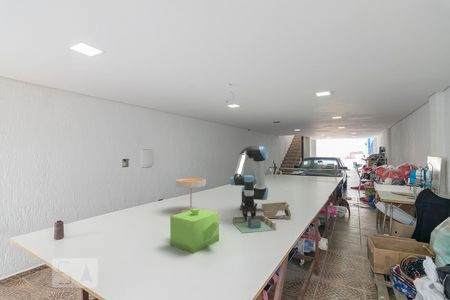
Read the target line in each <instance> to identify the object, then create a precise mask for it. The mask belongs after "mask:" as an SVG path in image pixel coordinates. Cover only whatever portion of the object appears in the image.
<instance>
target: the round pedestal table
mask: <svg viewBox="0 0 450 300" xmlns="http://www.w3.org/2000/svg"><path fill="white" fill-rule="evenodd" d="M206 185H207V180H206V179H205V178H202V177H201V178H200V177H199V178H198V177H193V178H191V177H188V178H177V179H175V187H176V188H189V206H190V208H185V209H182V210H180V213H183V212H187V211H190V210H191V209H193V208H194V207H192V206H193V205H192V204H193V201H192V200H193V196H192V191H193V190H192V189H193V188H201V187H206Z"/></svg>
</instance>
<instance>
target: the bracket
mask: <svg viewBox="0 0 450 300" xmlns="http://www.w3.org/2000/svg"><path fill="white" fill-rule="evenodd" d="M247 217H248V226H249V227H250V228H251V229H253V228H261V218H252V217H251V215H247Z"/></svg>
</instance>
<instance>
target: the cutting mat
mask: <svg viewBox="0 0 450 300" xmlns="http://www.w3.org/2000/svg"><path fill="white" fill-rule="evenodd" d="M232 224H233V225H234V226H235V228H237V229H238V230H239V231H240V233H242V234H250V233H259V232H269V231H276V229H277V228H276V229H275V230H274V229H273V228H271V227H270V226H268V225H267V224H266V223H264V222H263V221H261V228H253V229H251V228H250V227H249V226H247V225H246V222H244V223H233V222H232Z"/></svg>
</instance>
